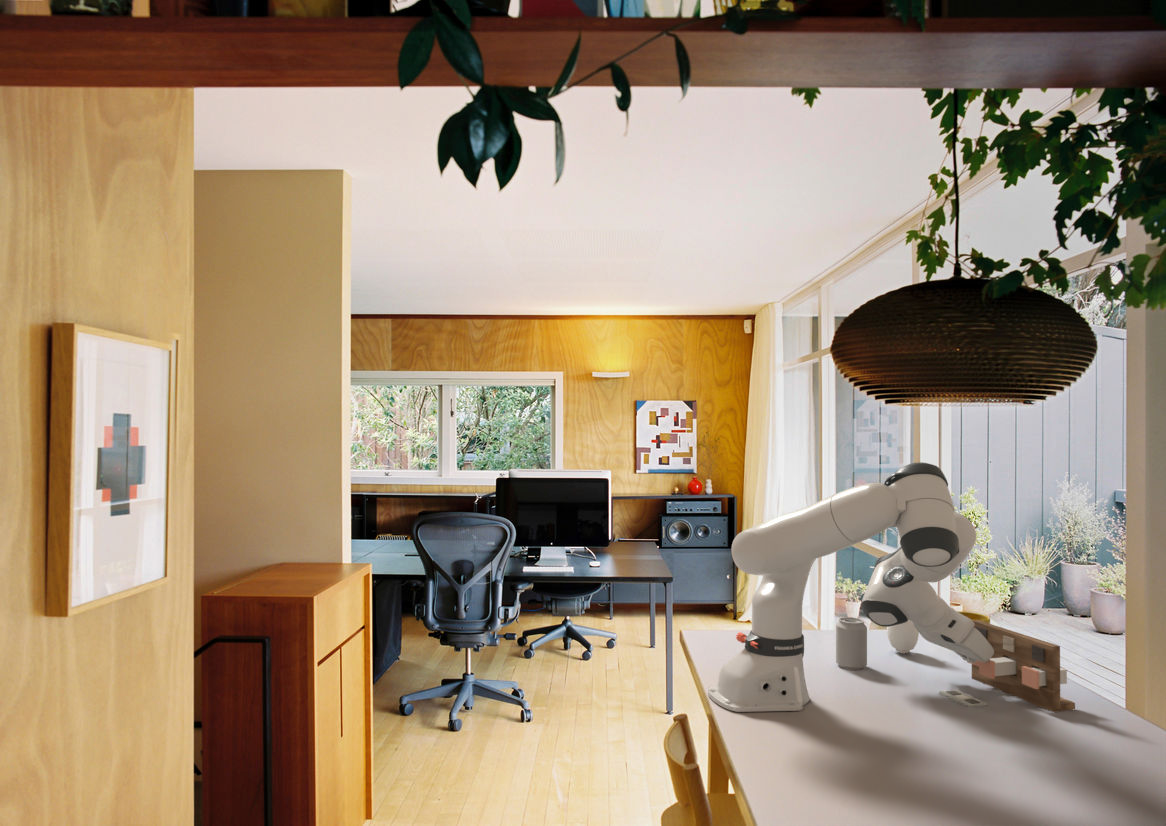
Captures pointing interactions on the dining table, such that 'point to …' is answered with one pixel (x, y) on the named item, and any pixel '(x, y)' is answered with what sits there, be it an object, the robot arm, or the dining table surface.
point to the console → (1027, 655)
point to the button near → (1039, 677)
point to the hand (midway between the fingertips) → (971, 659)
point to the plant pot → (975, 616)
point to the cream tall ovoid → (903, 636)
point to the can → (851, 643)
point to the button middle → (998, 667)
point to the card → (963, 698)
